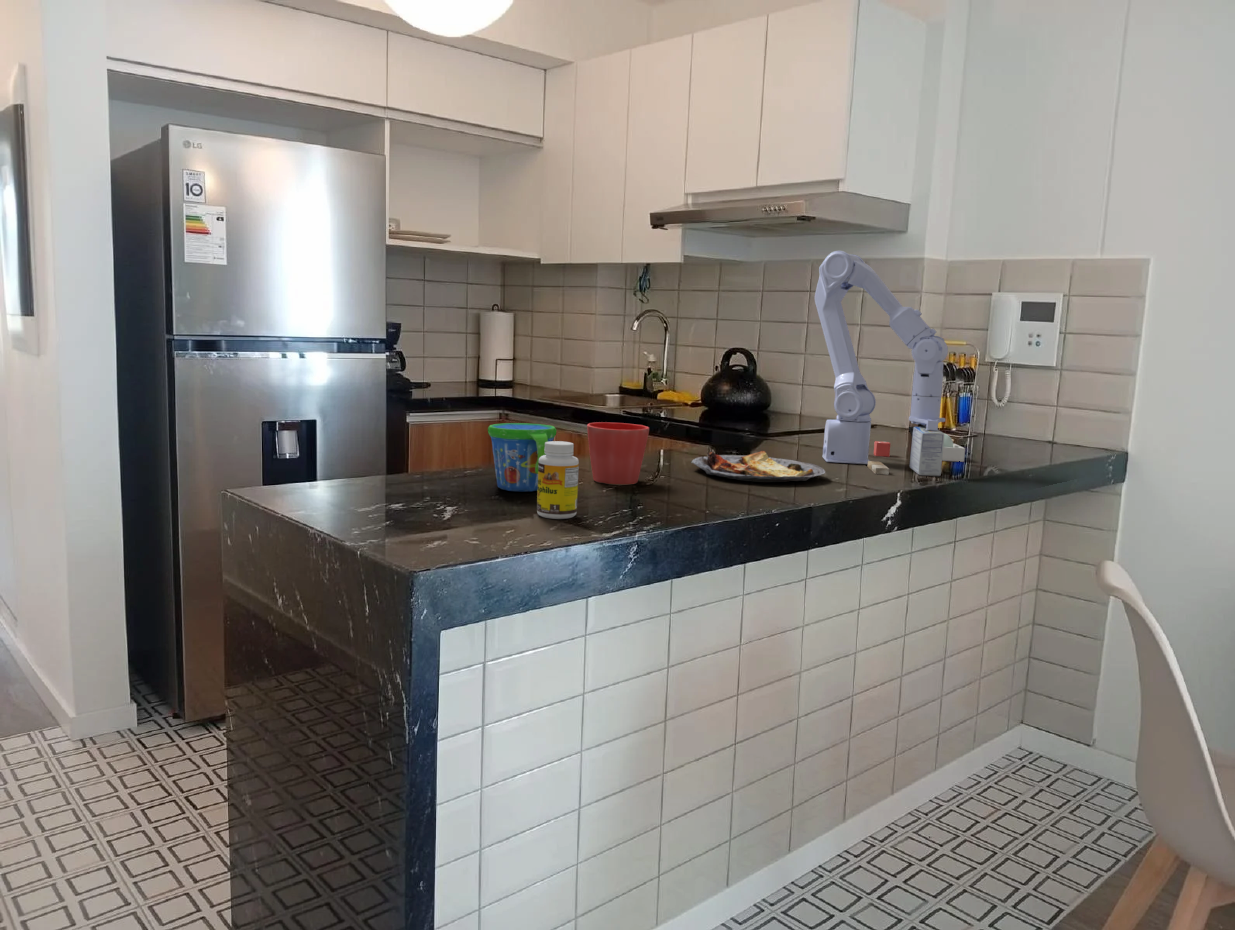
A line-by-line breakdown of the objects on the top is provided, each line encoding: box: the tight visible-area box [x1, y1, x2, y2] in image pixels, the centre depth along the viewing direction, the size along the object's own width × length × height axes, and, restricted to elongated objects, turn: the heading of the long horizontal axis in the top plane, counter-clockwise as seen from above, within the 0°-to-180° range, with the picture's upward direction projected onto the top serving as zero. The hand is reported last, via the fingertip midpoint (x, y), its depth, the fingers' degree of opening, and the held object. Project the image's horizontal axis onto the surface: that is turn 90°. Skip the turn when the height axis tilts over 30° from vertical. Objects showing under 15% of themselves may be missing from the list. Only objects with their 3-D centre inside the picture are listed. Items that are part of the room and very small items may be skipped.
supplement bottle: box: [536, 440, 580, 520], centre depth 128 cm, size 6×6×10 cm
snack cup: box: [487, 422, 557, 493], centre depth 147 cm, size 16×10×10 cm
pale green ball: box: [943, 432, 954, 447], centre depth 210 cm, size 6×6×6 cm
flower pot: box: [586, 421, 650, 486], centre depth 159 cm, size 11×11×10 cm
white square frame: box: [942, 443, 966, 463], centre depth 210 cm, size 9×9×3 cm
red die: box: [873, 440, 891, 458], centre depth 210 cm, size 3×3×3 cm
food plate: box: [690, 450, 826, 483], centre depth 174 cm, size 25×23×4 cm
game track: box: [867, 460, 890, 476], centre depth 186 cm, size 2×10×1 cm, turn 174°
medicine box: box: [909, 426, 944, 477], centre depth 184 cm, size 8×4×9 cm, turn 175°
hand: (920, 462), depth 190 cm, fingers closed, pressing on medicine box
